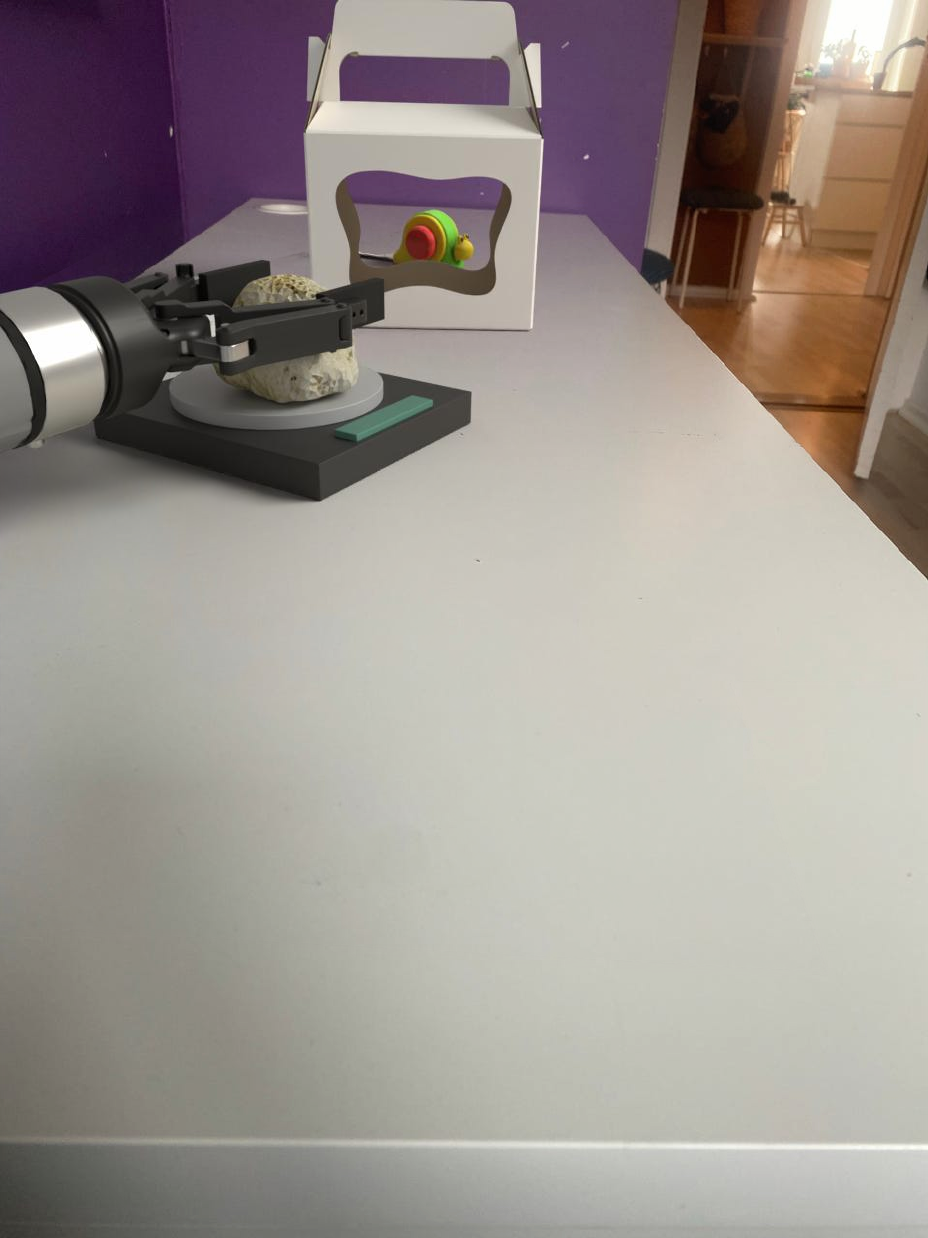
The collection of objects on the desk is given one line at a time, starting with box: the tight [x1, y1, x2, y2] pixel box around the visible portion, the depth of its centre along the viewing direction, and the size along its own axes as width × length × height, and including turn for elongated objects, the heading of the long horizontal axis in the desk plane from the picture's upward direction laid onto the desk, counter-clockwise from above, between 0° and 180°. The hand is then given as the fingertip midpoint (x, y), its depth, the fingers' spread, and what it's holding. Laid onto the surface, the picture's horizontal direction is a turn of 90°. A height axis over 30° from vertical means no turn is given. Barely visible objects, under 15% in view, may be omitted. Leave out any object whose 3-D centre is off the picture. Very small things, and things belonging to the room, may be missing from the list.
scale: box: [93, 362, 473, 502], centre depth 72 cm, size 20×18×3 cm
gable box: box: [303, 0, 545, 331], centre depth 98 cm, size 22×13×28 cm, turn 92°
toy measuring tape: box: [359, 209, 475, 269], centre depth 127 cm, size 6×20×7 cm, turn 59°
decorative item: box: [213, 273, 358, 404], centre depth 69 cm, size 12×9×10 cm
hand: (321, 288), depth 71 cm, fingers open, 9 cm apart
